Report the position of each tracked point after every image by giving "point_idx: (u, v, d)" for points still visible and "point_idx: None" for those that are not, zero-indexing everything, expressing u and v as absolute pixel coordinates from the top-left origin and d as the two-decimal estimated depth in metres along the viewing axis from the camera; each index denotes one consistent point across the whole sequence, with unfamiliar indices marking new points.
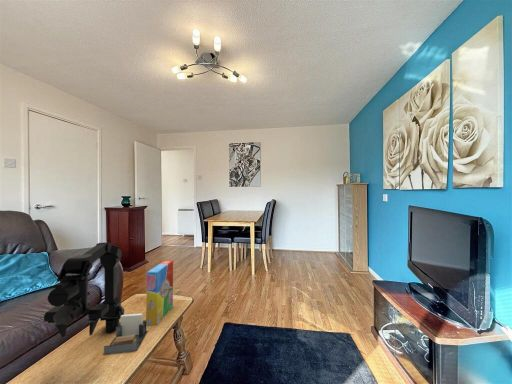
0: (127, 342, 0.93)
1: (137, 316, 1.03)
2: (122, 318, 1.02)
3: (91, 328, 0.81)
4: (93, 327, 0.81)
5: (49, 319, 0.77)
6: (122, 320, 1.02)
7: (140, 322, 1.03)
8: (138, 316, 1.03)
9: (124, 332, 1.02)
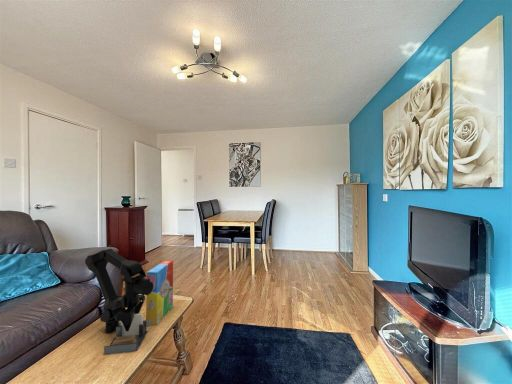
0: (127, 342, 0.93)
1: (137, 316, 1.03)
2: None
3: None
4: (125, 326, 0.98)
5: None
6: None
7: (140, 322, 1.03)
8: (138, 316, 1.03)
9: (124, 332, 1.02)
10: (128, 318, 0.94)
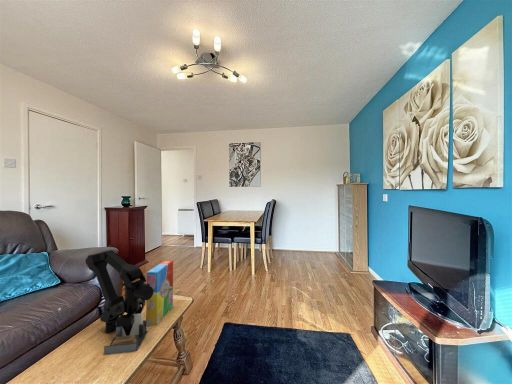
0: (127, 342, 0.93)
1: (137, 316, 1.03)
2: None
3: None
4: (126, 330, 0.98)
5: None
6: None
7: (140, 322, 1.03)
8: (138, 316, 1.03)
9: (124, 332, 1.02)
10: (128, 323, 0.94)
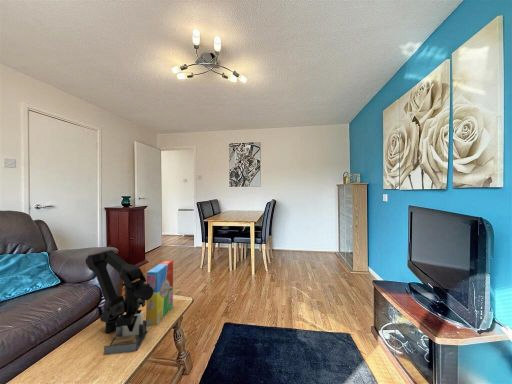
0: (127, 342, 0.93)
1: None
2: None
3: None
4: (129, 326, 1.01)
5: None
6: None
7: (140, 322, 1.03)
8: (138, 316, 1.03)
9: (124, 332, 1.02)
10: (128, 323, 0.94)
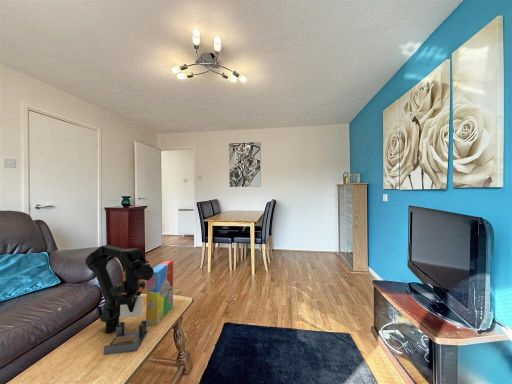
0: (127, 342, 0.93)
1: (137, 298, 1.03)
2: None
3: None
4: (129, 306, 1.01)
5: None
6: None
7: (140, 304, 1.03)
8: (138, 298, 1.03)
9: (123, 314, 1.02)
10: (128, 302, 0.95)
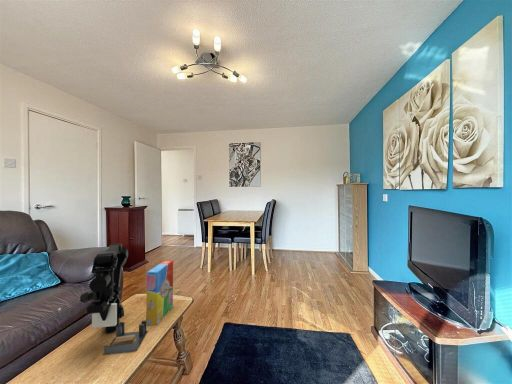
0: (127, 342, 0.93)
1: None
2: None
3: None
4: (102, 315, 0.94)
5: None
6: None
7: (114, 312, 0.96)
8: (111, 306, 0.96)
9: (95, 323, 0.95)
10: (99, 311, 0.87)
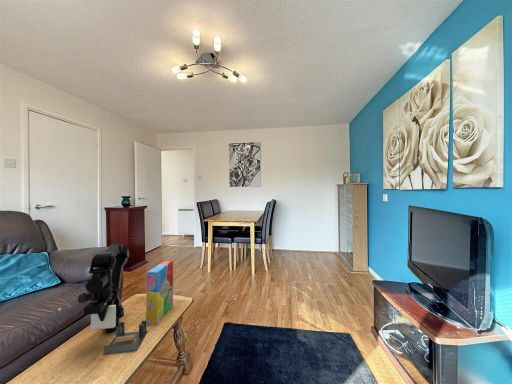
0: (127, 342, 0.93)
1: (109, 308, 0.95)
2: None
3: None
4: (99, 315, 0.94)
5: None
6: None
7: (112, 314, 0.96)
8: (110, 308, 0.95)
9: (94, 325, 0.94)
10: (96, 312, 0.87)
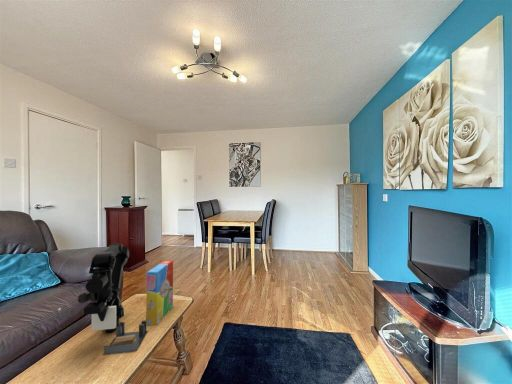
0: (127, 342, 0.93)
1: (110, 309, 0.95)
2: None
3: None
4: (99, 315, 0.94)
5: None
6: None
7: (113, 315, 0.96)
8: (111, 309, 0.95)
9: (95, 326, 0.94)
10: (96, 312, 0.87)
